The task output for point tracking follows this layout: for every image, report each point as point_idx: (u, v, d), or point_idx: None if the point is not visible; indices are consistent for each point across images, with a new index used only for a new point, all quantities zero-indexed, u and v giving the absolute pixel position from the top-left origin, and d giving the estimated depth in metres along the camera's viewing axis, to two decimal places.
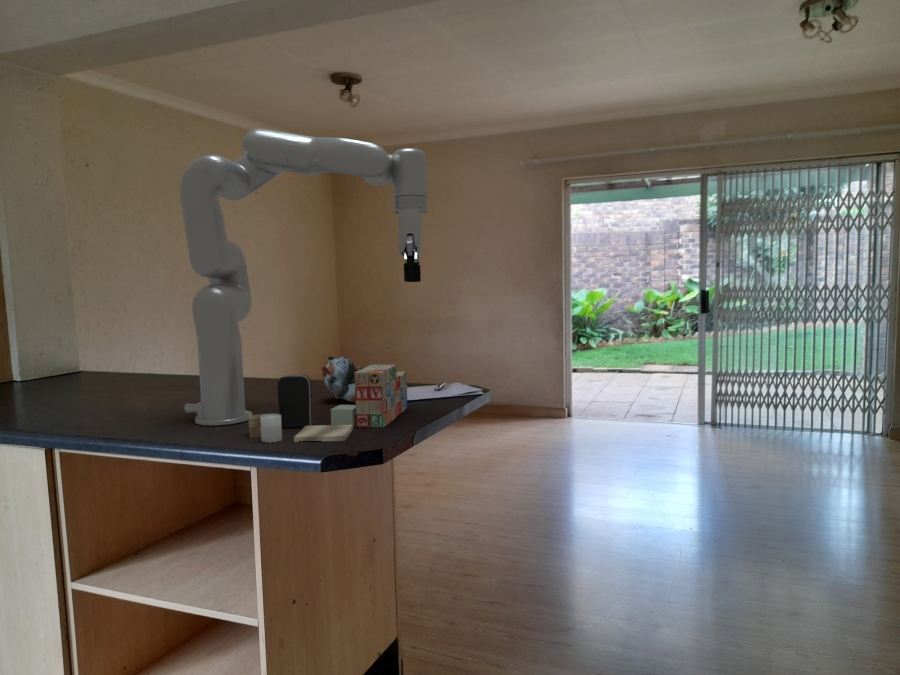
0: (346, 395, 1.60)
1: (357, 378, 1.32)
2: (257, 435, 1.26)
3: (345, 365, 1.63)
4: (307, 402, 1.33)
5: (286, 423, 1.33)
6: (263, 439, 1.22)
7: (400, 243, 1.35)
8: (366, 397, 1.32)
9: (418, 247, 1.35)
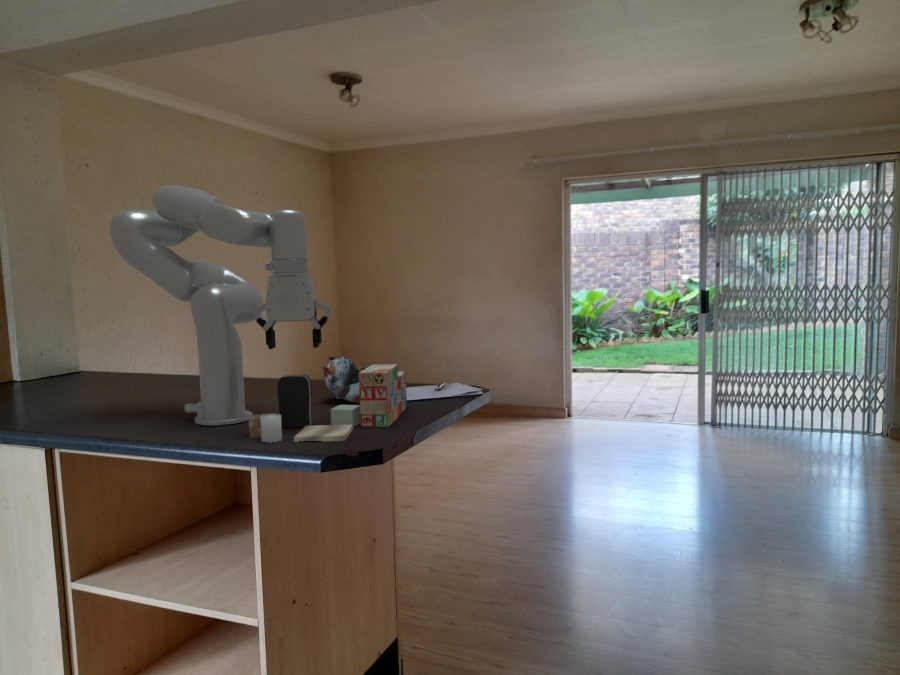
0: (347, 395, 1.60)
1: (361, 378, 1.32)
2: (257, 435, 1.26)
3: (346, 365, 1.62)
4: (307, 402, 1.33)
5: (286, 423, 1.33)
6: (263, 439, 1.22)
7: (312, 308, 1.31)
8: (371, 397, 1.32)
9: None
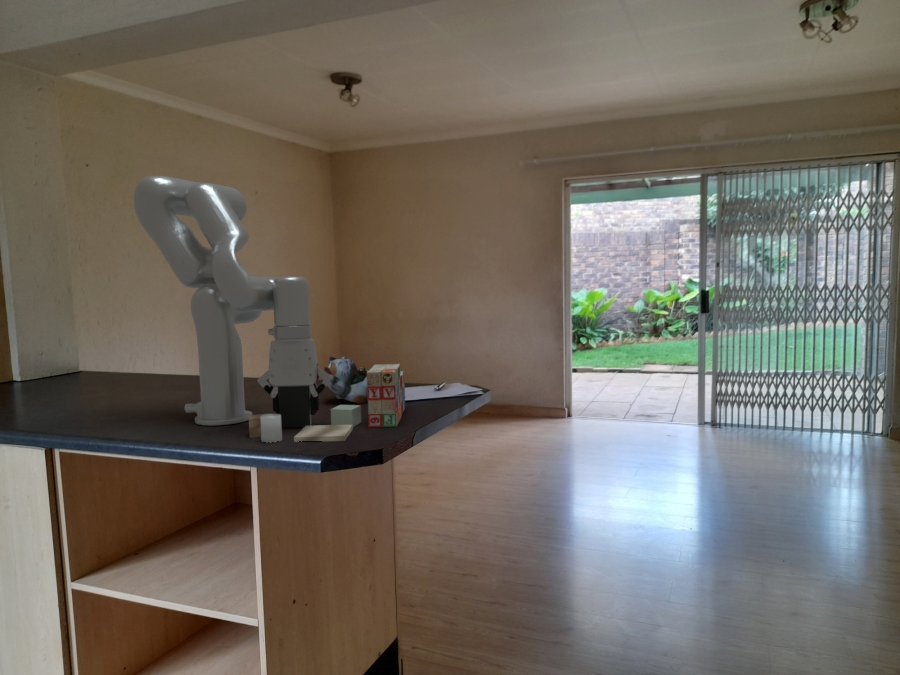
0: (349, 395, 1.60)
1: (369, 378, 1.32)
2: (257, 435, 1.26)
3: (347, 365, 1.62)
4: (307, 402, 1.33)
5: (286, 423, 1.33)
6: (263, 439, 1.22)
7: (315, 374, 1.32)
8: (379, 397, 1.32)
9: None
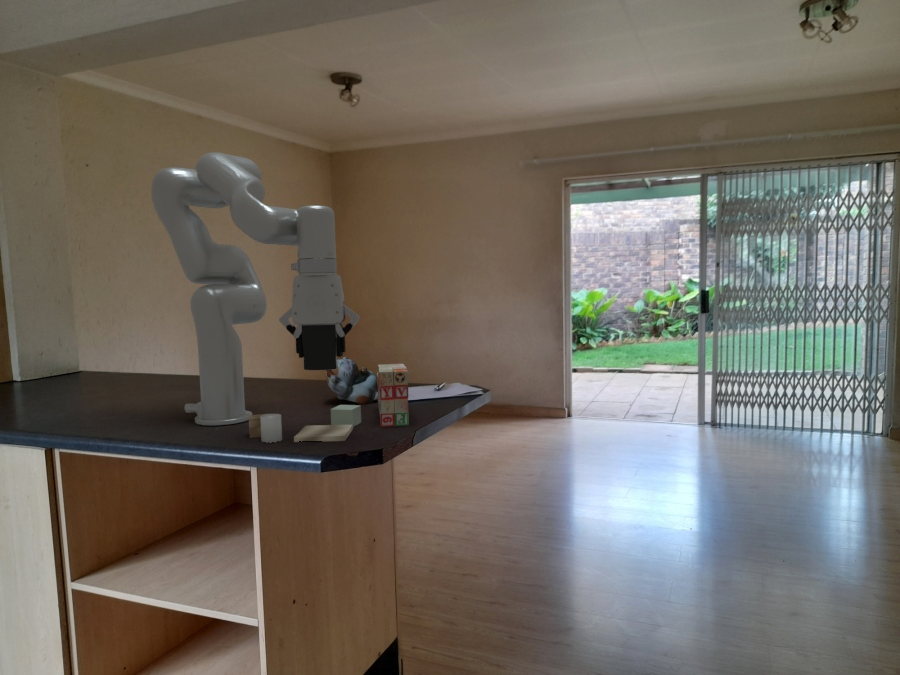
0: (351, 396, 1.59)
1: (382, 378, 1.32)
2: (257, 435, 1.26)
3: (349, 366, 1.61)
4: (333, 342, 1.23)
5: (311, 365, 1.23)
6: (263, 439, 1.22)
7: (342, 311, 1.22)
8: (391, 396, 1.33)
9: None
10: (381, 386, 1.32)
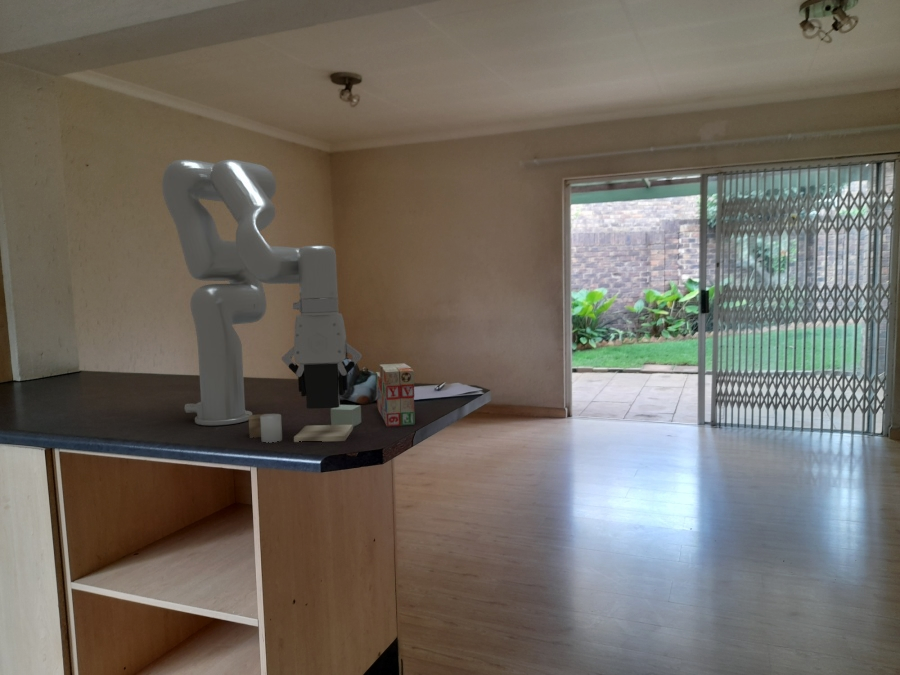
0: (352, 396, 1.59)
1: (388, 377, 1.32)
2: (257, 435, 1.26)
3: None
4: (336, 381, 1.23)
5: (313, 404, 1.24)
6: (263, 439, 1.22)
7: (344, 350, 1.22)
8: (397, 396, 1.33)
9: None
10: (387, 386, 1.32)
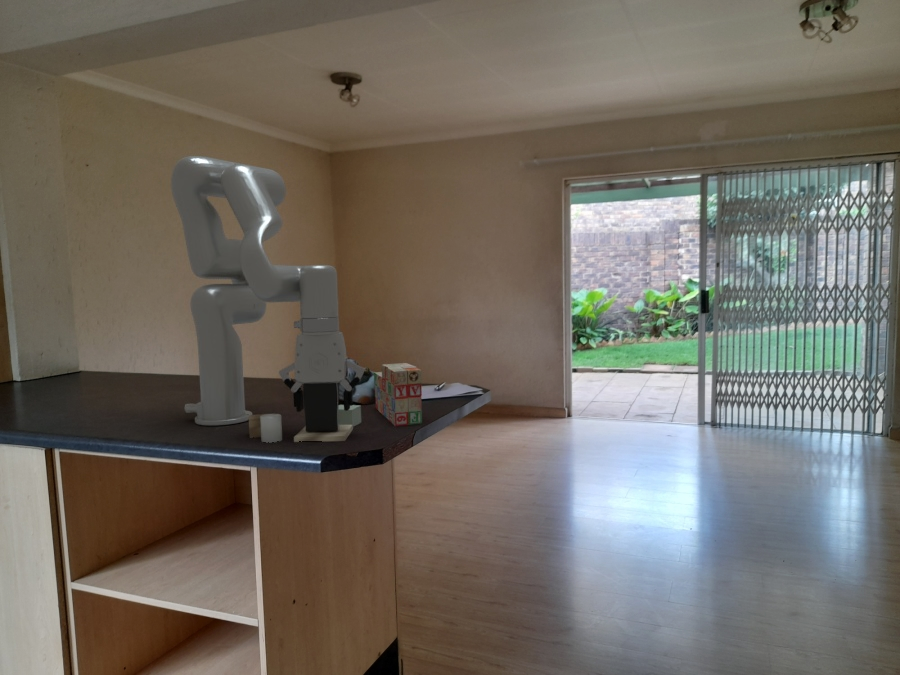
0: (353, 396, 1.58)
1: (396, 377, 1.33)
2: (257, 435, 1.26)
3: None
4: (335, 404, 1.24)
5: (312, 427, 1.24)
6: (263, 439, 1.22)
7: (344, 370, 1.23)
8: (405, 395, 1.34)
9: None
10: (395, 385, 1.33)
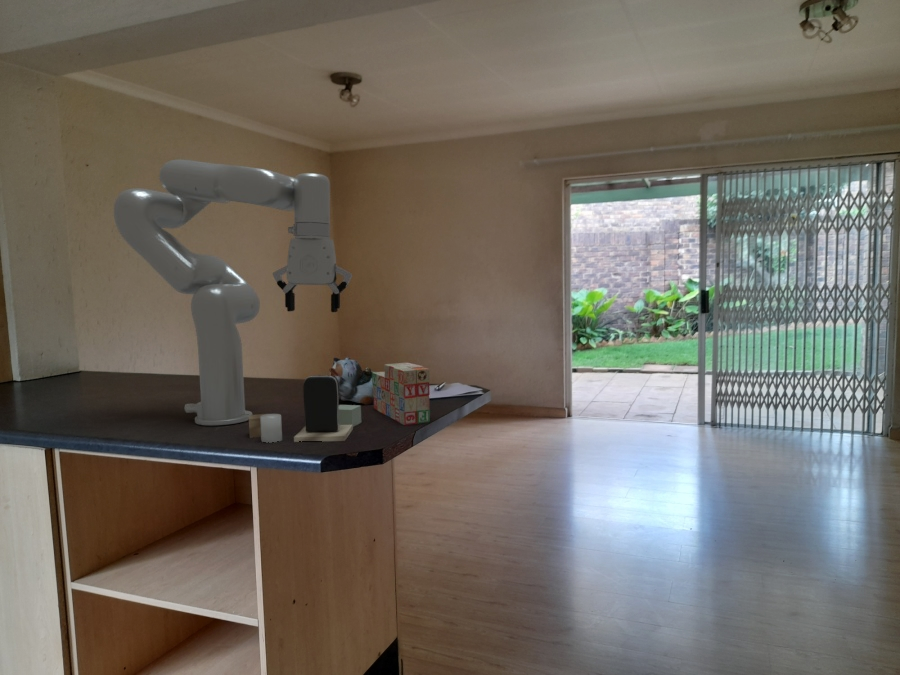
0: (355, 397, 1.58)
1: (406, 376, 1.33)
2: (257, 435, 1.26)
3: (353, 366, 1.60)
4: (335, 404, 1.24)
5: (312, 427, 1.24)
6: (263, 439, 1.22)
7: (332, 273, 1.32)
8: (414, 394, 1.35)
9: None
10: (405, 385, 1.33)
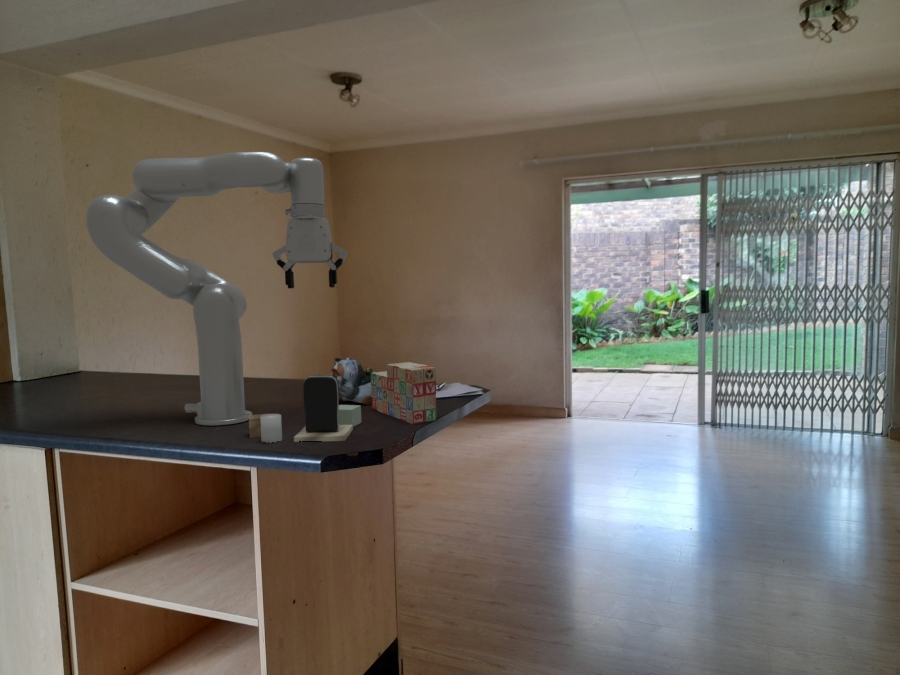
0: (357, 397, 1.57)
1: (414, 375, 1.34)
2: (257, 435, 1.26)
3: (355, 366, 1.60)
4: (335, 404, 1.24)
5: (312, 427, 1.24)
6: (263, 439, 1.22)
7: (329, 250, 1.41)
8: (422, 393, 1.36)
9: None
10: (413, 384, 1.34)
